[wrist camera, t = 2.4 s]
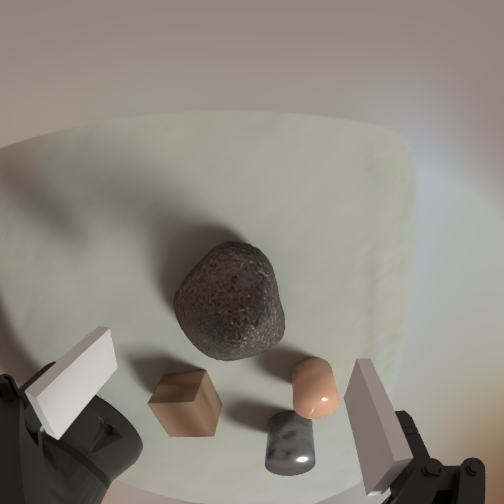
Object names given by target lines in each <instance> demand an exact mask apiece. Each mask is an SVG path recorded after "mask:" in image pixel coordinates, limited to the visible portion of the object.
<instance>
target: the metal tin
mask: <svg viewBox="0 0 504 504" xmlns="http://www.w3.org/2000/svg"><path fill="white" fill-rule="evenodd" d="M314 466H315V451H314V439H313V427H312V420H311V419H309V418H304V417H302V416H300V415H298V414H297V413H296V412H295V411H287V412H282V413H279V414H277V415H275V416H273V417H272V418H271V419H270V421H269V424H268V436H267V447H266V459H265V467H266V469H267V470H268V471H270V472H272V473H274V474H277V475H283V476H293V475H299V474H303V473H306V472H308V471H309V470H311V469H312V468H313V467H314Z"/></svg>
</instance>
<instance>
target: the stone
mask: <svg viewBox="0 0 504 504" xmlns="http://www.w3.org/2000/svg"><path fill="white" fill-rule="evenodd" d="M174 308H175V314H176V317H177V320H178V323H179V325H180V327H181V329H182V330H183V332H184V333H185V335H186V336H187V338H188V339H189V340H190V341H191V342H192V344H193V345H194V346H195V347H196V348H197V349H198V350H200V351H201V352H202V353H204V354H205V355H207V356H208V357H211V358H214V359H216V360H223V361H234V360H239V359H243V358H247V357H251V356H254V355H256V354H260V353H262V352H264V351H267V350H269V349H271V348H273V347H274V346H275V345H276V344H277V343H278V342H279V341H280V340H281V339H282V337H283V334H284V331H285V318H284V312H283V309H282V306H281V302H280V298H279V293H278V286H277V282H276V279H275V274H274V271H273V268H272V265H271V264H270V262H269V260H268V258H267V257H266V256H265V255H264V254H263V253H262V252H261V250H259V249H258V248H256V247H253V246H252V245H250V244H246V243H240V242H225V243H222V244H220V245H218V246H216V247H214V248H213V249H212V250H211V251H210V252H209V253H208V254H207V255H206V256H205V257H204V258H203V259H202V260H201V261H200V262H199V263H198V264H197V265H196V266H195V267H194V268H193V269H192V270H191V272H190V273H189V274H188V275H187V276H186V278H185V279H184V280H183V282H182V284H181V285H180V287H179V289H178V291H177V292H176V294H175V298H174Z"/></svg>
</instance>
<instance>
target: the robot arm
mask: <svg viewBox="0 0 504 504" xmlns="http://www.w3.org/2000/svg"><path fill="white" fill-rule="evenodd" d="M116 369H117V363H116V358H115V353H114V348H113V343H112V337H111V332H110V328H106V327H102V326H98V327H97V328H96V329H95V330H94V331H92V332H91V333H90V334H89V335H88V336H86V337H85V338H84V339H83V340H82V341H81V342H79V343H78V344H77V345H76V346H75V347H73V348H72V349H71V350H70V351H69V352H68V353H67V354H65V355H64V356H63V357H62V358H61V359H60V360H59V361H57V362H55V361H54V362H52V363H50V364H47V365H46V366H44V367H43V368H42V369H41V370H40V372H38V373H36V374H35V376H33V377H32V378H31V379H30V380H28V381H27V382H26V383H25V384H24V385H23V386H22V387H21V388H20V389H18V387H17V385H16V383H15V381H14V379H13V377H12V376H10V375H8V374H2V375H0V504H101V502H102V500H103V498H104V496H105V494H106V492H107V490H108V488H109V486H110V484H111V483H112V481H113V480H114V479H115V478H117V477H118V476H119V475H120V474H122V473H123V472H124V471H125V470H127V469H128V468H129V467H130V466H131V465H133V464H134V463H135V462H136V461H137V459H138V457H139V455H140V453H141V451H142V449H143V444H142V441H141V438H140V436H139V434H138V433H137V431H136V430H135V429H134V427H133V426H132V425H131V424H130V423H129V422H128V421H127V420H126V419H125V418H124V417H123V416H122V415H121V414H120V413H119V412H118V411H116V410H115V409H114V408H113V407H111V406H110V405H108V404H107V403H106V402H104V401H103V400H101V399H99V398H98V397H96V396H94V395H95V394H96V393H97V392H98V390H99V389H100V388H101V387H102V386H103V384H104V383H105V382H106V381H107V380H108V378H109V377H110V376H111V375H112V374H113V372H114V371H115V370H116ZM344 400H345V404H346V408H347V412H348V416H349V420H350V424H351V428H352V432H353V436H354V440H355V445H356V449H357V453H358V458H359V462H360V467H361V471H362V476H363V481H364V486H365V491H366V496H371V495H377V494H383V493H384V492H385V491H386V490H387V489H388V488H389V487H390V490H391V494H390V496H389V497H388V498H387V499H386V500H385V501H384V502H383V503H382V504H484V503H485V466H484V464H483V463H482V461H481V460H479V459H477V458H468V459H466V460H464V461H463V463H462V464H461V465H460V466H443V465H442V463H441V462H440V461H438V460H436V459H433V458H430V456H429V454H428V452H427V449H426V447H425V445H424V443H423V441H422V439H421V436H420V434H418V430H417V427H415V423H414V421H413V419H412V417H411V416H410V415H409V414H408V413H407V412H406V411H394V409H393V407H392V405H391V402H390V400H389V398H388V396H387V393H386V391H385V389H384V387H383V385H382V382H381V380H380V378H379V376H378V374H377V372H376V370H375V368H374V365H373V363H372V361H371V359H356V362H355V366H354V369H353V372H352V375H351V378H350V381H349V385H348V388H347V390H346V393H345V396H344ZM41 426H43V428H44V430H43V431H42V432H41V431H40V427H41Z"/></svg>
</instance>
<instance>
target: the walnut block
mask: <svg viewBox="0 0 504 504" xmlns="http://www.w3.org/2000/svg"><path fill="white" fill-rule="evenodd" d="M148 405H149V407H150V408H151V410H152V411H153V413H154V414H155V416H156V417H157V419H158V420H159V422H160V423H161V425H162V426H163V428H164V429H165V431H166V432H167V434H168V435H169V436H170V437H207V436H214V434H215V431H216V427H217V423H218V419H219V415H220V411H221V408H222V403H221V401H220V399H219V397H218V394H217V392H216V390H215V388H214V386H213V384H212V382H211V380H210V378H209V375H208V373H207V371H206V370H203V371H195V372H186V373H177V374H166V375H164V376H163V377H162V379H161V381H160V383H159V384H158V386H157V388H156V389H155V391H154V393H153V395H152V396H151V398H150V400H149V402H148Z"/></svg>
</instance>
